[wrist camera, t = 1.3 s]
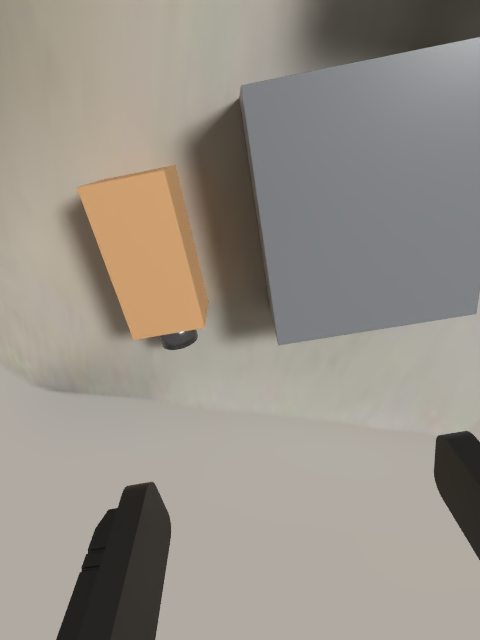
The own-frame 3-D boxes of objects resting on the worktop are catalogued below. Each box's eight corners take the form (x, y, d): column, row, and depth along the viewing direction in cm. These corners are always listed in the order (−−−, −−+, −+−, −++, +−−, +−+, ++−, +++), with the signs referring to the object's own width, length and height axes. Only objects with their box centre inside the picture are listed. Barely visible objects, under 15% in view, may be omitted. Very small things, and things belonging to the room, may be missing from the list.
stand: (239, 98, 24) (241, 85, 18) (451, 55, 23) (519, 28, 17) (270, 309, 31) (278, 345, 25) (432, 283, 30) (476, 314, 25)
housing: (103, 179, 26) (76, 187, 21) (175, 165, 26) (163, 170, 21) (154, 331, 32) (141, 361, 27) (213, 320, 31) (210, 350, 27)
